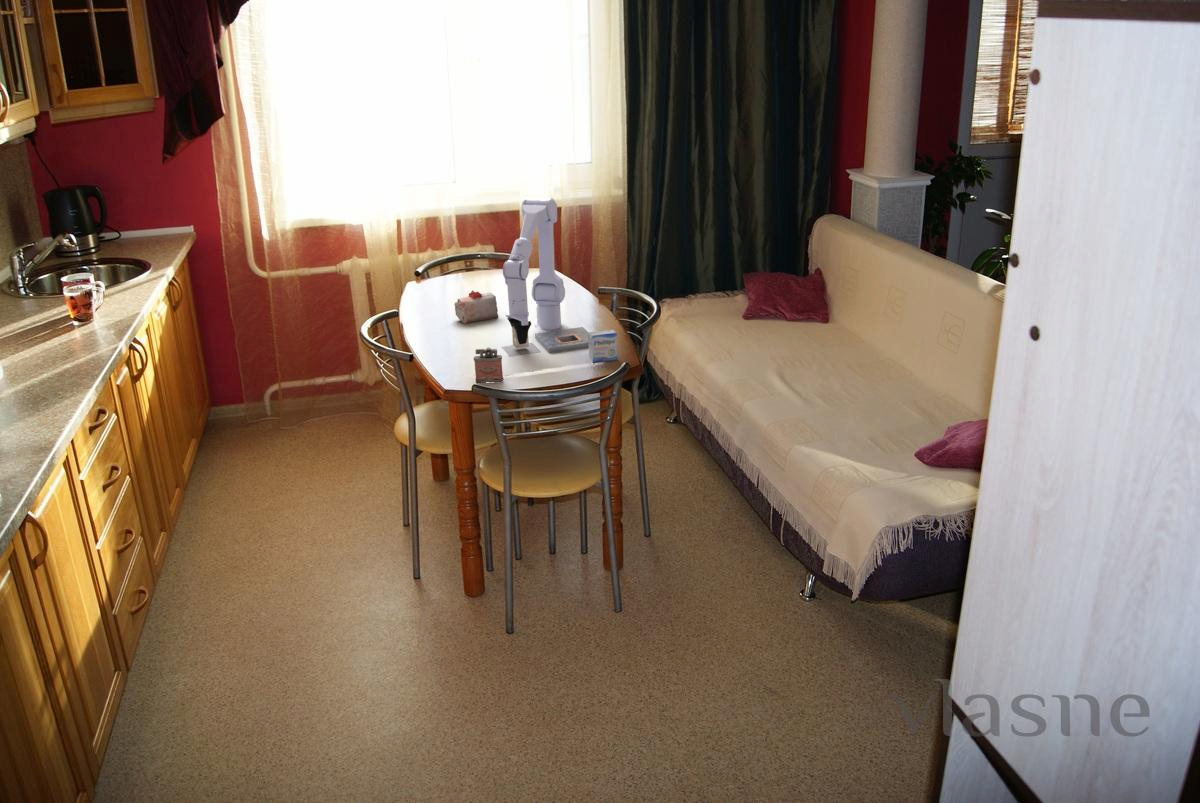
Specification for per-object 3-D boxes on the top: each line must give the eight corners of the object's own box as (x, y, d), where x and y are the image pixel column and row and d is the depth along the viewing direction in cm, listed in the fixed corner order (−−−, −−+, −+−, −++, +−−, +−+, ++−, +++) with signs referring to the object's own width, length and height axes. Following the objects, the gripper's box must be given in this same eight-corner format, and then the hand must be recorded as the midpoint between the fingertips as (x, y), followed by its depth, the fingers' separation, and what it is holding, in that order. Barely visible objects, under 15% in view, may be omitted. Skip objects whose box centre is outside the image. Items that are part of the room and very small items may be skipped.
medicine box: (592, 363, 302) (591, 335, 298) (588, 359, 306) (587, 331, 302) (618, 360, 304) (617, 332, 300) (613, 355, 308) (612, 328, 304)
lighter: (504, 378, 292) (501, 345, 289) (503, 382, 289) (500, 349, 285) (476, 380, 292) (473, 347, 288) (475, 384, 289) (472, 351, 285)
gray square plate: (501, 349, 316) (501, 346, 316) (532, 345, 319) (532, 342, 319) (509, 359, 308) (509, 356, 307) (541, 354, 311) (541, 351, 310)
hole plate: (535, 340, 323) (534, 333, 323) (582, 334, 328) (582, 326, 327) (549, 356, 309) (548, 347, 308) (598, 348, 314) (598, 340, 313)
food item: (463, 325, 342) (460, 297, 338) (454, 320, 349) (451, 292, 345) (500, 318, 348) (498, 291, 344) (491, 313, 354) (488, 286, 351)
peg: (513, 344, 314) (511, 326, 312) (525, 343, 315) (524, 324, 313) (516, 348, 310) (515, 329, 308) (528, 346, 312) (527, 328, 309)
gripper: (499, 294, 312) (502, 336, 317) (510, 306, 300) (514, 350, 305) (521, 291, 314) (524, 333, 319) (533, 303, 302) (536, 346, 307)
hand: (520, 341), depth 312 cm, fingers closed on peg, 4 cm apart
